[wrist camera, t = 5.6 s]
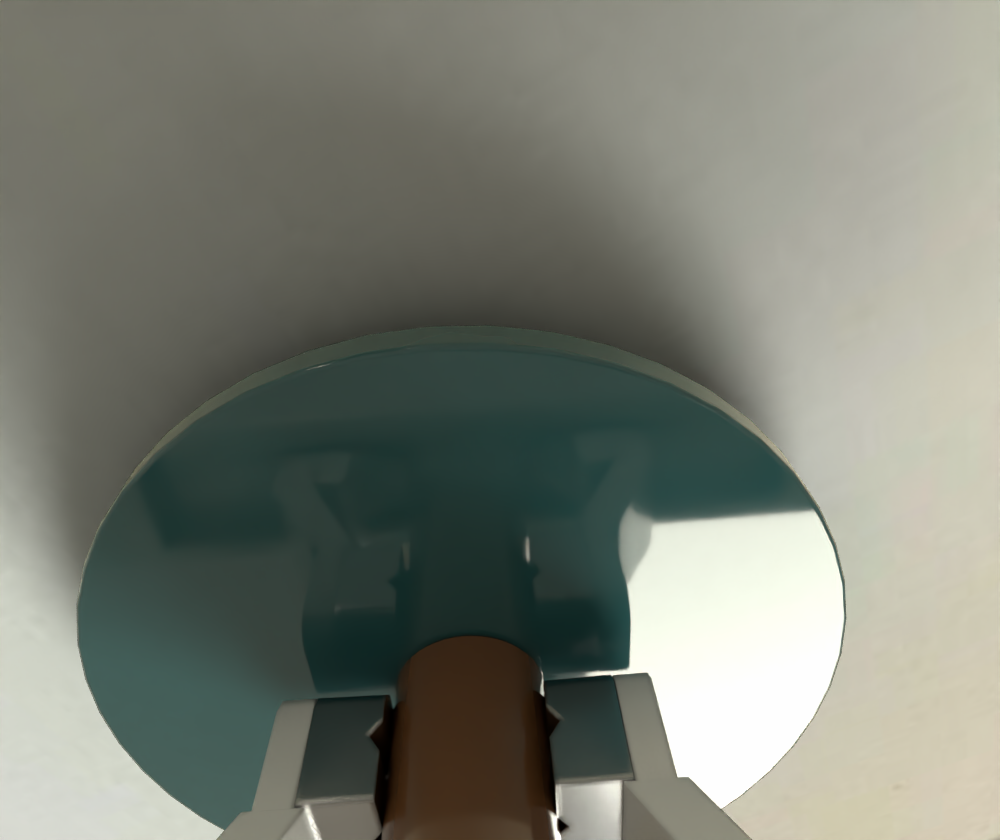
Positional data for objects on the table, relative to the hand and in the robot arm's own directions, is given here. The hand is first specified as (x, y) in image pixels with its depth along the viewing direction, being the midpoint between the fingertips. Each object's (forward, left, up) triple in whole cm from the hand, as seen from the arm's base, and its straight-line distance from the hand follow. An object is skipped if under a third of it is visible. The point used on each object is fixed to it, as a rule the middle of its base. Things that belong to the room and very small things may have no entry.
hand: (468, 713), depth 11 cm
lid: (0, 0, -1) cm, 1 cm away
